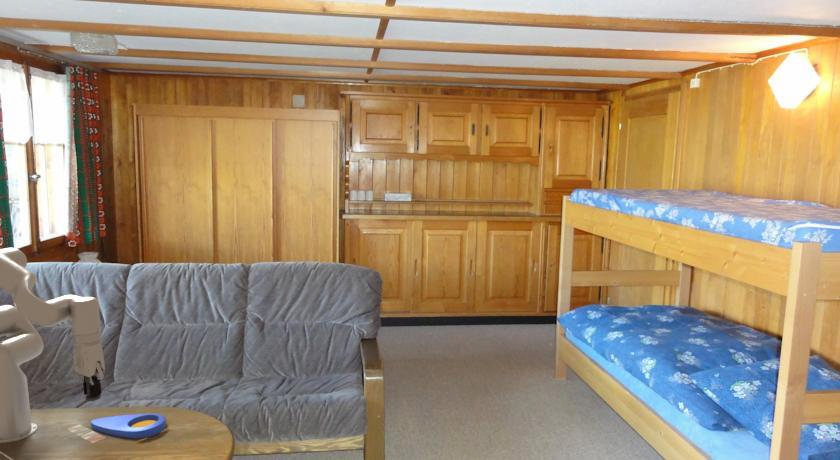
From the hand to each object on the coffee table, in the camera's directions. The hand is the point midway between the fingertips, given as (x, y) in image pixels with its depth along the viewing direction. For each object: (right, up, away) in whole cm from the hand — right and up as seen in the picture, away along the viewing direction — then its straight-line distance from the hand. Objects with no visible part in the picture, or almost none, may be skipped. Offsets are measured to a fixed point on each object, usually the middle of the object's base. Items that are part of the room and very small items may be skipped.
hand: (92, 394), depth 185 cm
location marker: (+6, -15, +10) cm, 19 cm away
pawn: (0, -1, 0) cm, 2 cm away
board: (-5, -15, +6) cm, 17 cm away
